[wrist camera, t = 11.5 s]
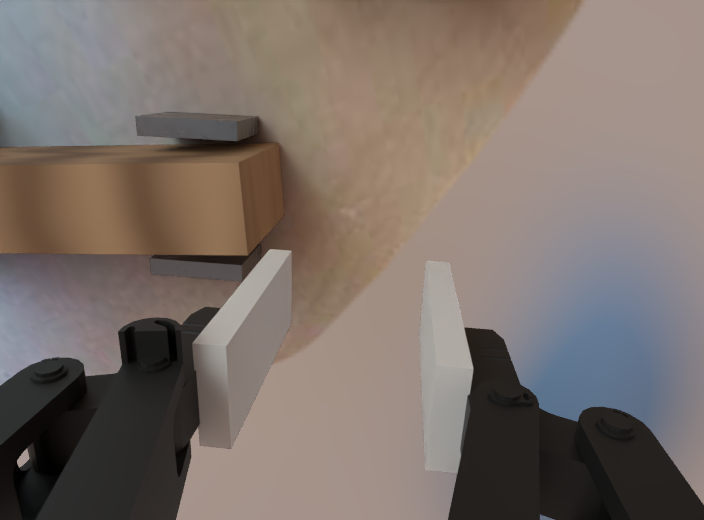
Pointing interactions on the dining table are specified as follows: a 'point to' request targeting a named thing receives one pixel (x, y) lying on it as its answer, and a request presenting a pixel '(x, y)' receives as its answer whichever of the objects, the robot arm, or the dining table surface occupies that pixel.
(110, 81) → the dining table surface
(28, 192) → the walnut slat
